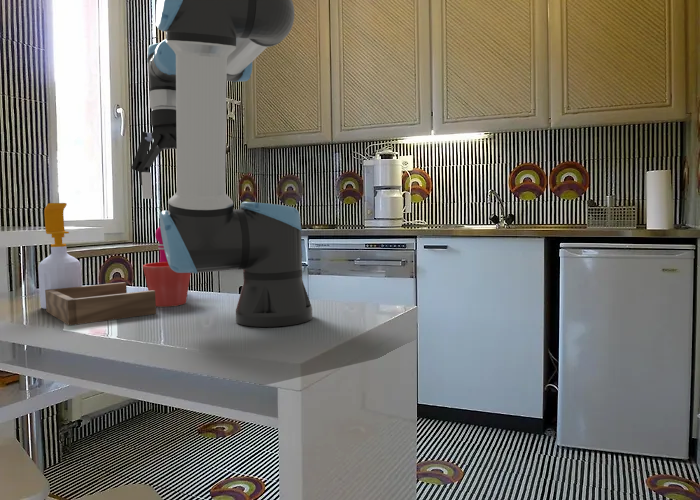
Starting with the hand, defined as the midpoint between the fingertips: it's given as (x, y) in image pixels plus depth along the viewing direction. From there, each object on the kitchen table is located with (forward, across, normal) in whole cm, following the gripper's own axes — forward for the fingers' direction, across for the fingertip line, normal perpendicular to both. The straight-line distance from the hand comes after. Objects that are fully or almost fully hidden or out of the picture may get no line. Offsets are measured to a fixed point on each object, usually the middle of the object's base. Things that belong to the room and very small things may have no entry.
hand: (170, 197), depth 146 cm
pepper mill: (+25, +7, -7) cm, 27 cm away
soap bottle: (+25, +22, +14) cm, 36 cm away
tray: (+26, +6, +19) cm, 32 cm away
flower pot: (+26, -2, +6) cm, 27 cm away
